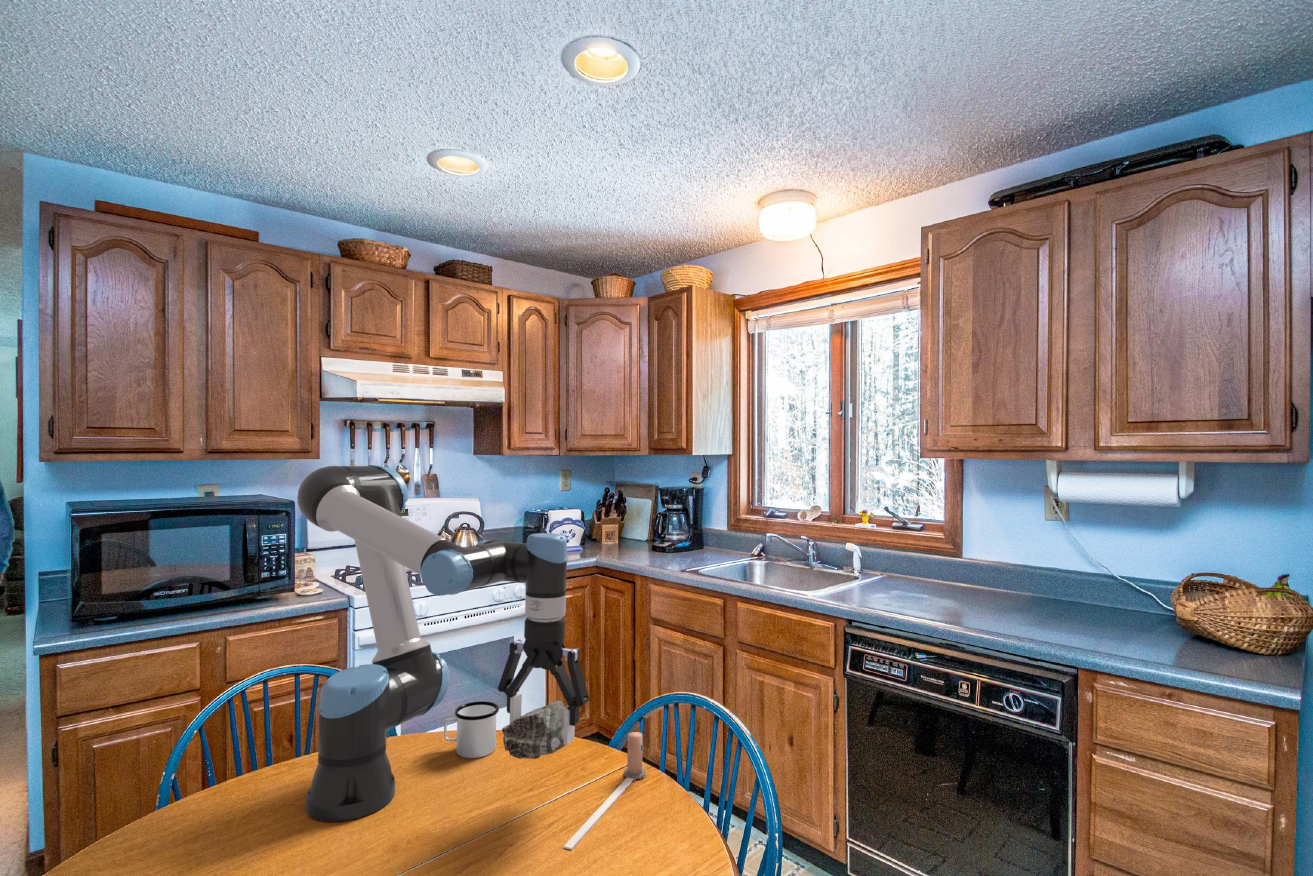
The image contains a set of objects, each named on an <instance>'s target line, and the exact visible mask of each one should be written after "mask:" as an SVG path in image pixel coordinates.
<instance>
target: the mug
mask: <svg viewBox="0 0 1313 876" xmlns="http://www.w3.org/2000/svg"><path fill="white" fill-rule="evenodd" d="M499 711H500V707H499V705H498V704H497V703H495V702H492V701H485V700H483V701H472V702H466V703H464V704H461V705H459V706H458V707H457V708H456V709H455V710H454V716H455V717H450V718H447V719H445V720H444V726H443V732H444V733H443V734H444V735H443V736H444V739H445V740H446V741H449V742H456V754H457V755H459V756H460V757H462V758H465V759H481V758H484V757H487V756H489V755H491V754H492V753H493V752H495V750H496V749H497V748H496V747H497V714H498V712H499ZM448 722H456V737H448V731H447V727H448Z"/></svg>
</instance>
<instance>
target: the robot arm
mask: <svg viewBox="0 0 1313 876" xmlns="http://www.w3.org/2000/svg"><path fill="white" fill-rule="evenodd" d="M296 497H297V506H298V508H299V511H300V512H301V514H302V515H303V516H304V517H305V519H306V520H307V521H309V522H310V523H312V524H313V525H315V526H317V527H318V528H320V529H321V530H323V531H326V532H339V533H341V534H343V535H345V536H347V537H349V538H351V539H353V540H354V545H355V549H356V554H357V558H358V563H359V569H360V572H361V576H362V581H363V587H364V592H365V596H366V601H367V606H368V610H369V615H370V620H371V624H372V629H373V634H374V638H375V643H376V649H377V650H376V653H375V655H374V657H373V658H372V659H371V663H369V664H362V665H359V666H351V667H348V668H346V669H342V670H340V671H337V672H336V673H335V674H332V675H331V676H329V678H327V679H326V680H325V682H324V683H323V684H322V685H321V688H320V695H319V696H320V697H319V702H318V706H317V707H318V708H317V710H318V745H317V746H318V747H317V753H318V754H317V765H316V768H315V771H314V774H313V778H312V780H311V785H310V788H309V789H308V791H307V793H306V796H305V812H306V815H308V817H310V818H312V819H313V820H317V821H320V822H329V823H331V822H344V821H350V820H351V821H352V820H354V819H359V818H362V817H366V816H368V815H371V814H373V813H375V812H378V811H380V810H382V808H384V807H386V806H387V805H388V804H389V803H390V802H392V800H393V799H394V798H395V794H396V779H395V778H396V777H395V776H394V774H393V771H392V767H391V764H390V761H389V758H388V755H387V733H388V731H389V730H391V729H393V728H396V727H398V726H400V725H401V724H404V723H406V722H408V721H410V720H412V719H414V718H416V717H420V716H424V715H425V714H426V713H428V712H430V711H431V710H433V709H434V708H436V707H437V706H439V705H440V704H441V703H442V701H443V700H444V698H445V697H446V695H447V692H448V690H449V684H450V671H449V667H448V664H447V662H446V660H445V659H444V658H441V656H442V655H440V654H439V653H438V652H436V651H435V652H434V651H432V648H431V647H432V646H431V643H430V642H428V641H427V640H426V639H423V638H422V636H421V632H420V629H419V623H418V619H417V615H416V610H415V606H414V601H413V597H412V592H411V589H410V583H409V580H408V578H409V577H408V575H407V571H406V568H407V569H409V570H411V571H412V572H414V573H416V574H418V575H420V578H421V582H422V584H423V585H424V586H425V588H426V590H427V591H428V592H429V593H430V594H432V595H434V596H440V597H441V596H442V597H443V596H447V595H449V596H453V595H457V594H461V593H463V592H467V591H470V590H473V589H477V588H481V587H485V586H488V585H492V584H496V583H501V582H511V583H512V582H513V583H519V584H525V603H524V606H525V607H524V615H525V616H526V618H525V619H524V630H523V637H524V641H522V640H521V639H517V640H515V641H511V642H510V643H509V647H508V649H509V650H508V652H509V654H508V657H507V661H506V663H505V666H504V669H503V671H502V675H501V678H500V681H499V683H498V686H497V689H498V690H497V691H498V692H500V693H504V694H505V695H506V712H507V714H509V724H510V723H512V722H513V721H514V720H515V719H517V718H519V717H520V716H522V703H523V702H522V700H523V699H522V698H523V694H522V693H518V692H520V689H521V687H522V686H523V684H524V683H525V681H526V680H527V678H528V676H530V674H531V672H532V670H533V669H543V670H545V671H546V670H547V671H549V672H550V674H551V675H552V676H553V677H554V680H555V681H556V684H557V685H558V687H559V690H560V692H561V694H562V695H563V698H564V700H565V702H566V704H567V706H565V707H566V708H564V743H563V745H566V746H568V745H570V744H571V743H572V742H574V740H575V733H576V732H575V731H576V730H575V728H576V727H575V726H576V725H578V723H579V721H580V707H581V708H582V707H583V706H585V705H586V704H587V703H589V701H590V695H589V692H588V688H587V685H586V682H585V678H584V673H583V670H582V666H581V663H580V662H581V661H580V656H581V655H580V652H581V651H580V649H579V648H577V647H575V648H566V646H565V642H564V641H565V637H566V619H565V617H564V616H565V615H566V612H567V610H566V609H567V606H566V605H567V588H566V587H567V571H568V570H567V567H568V560H569V559H568V558H569V556H568V542H567V538H566V537H565V536H564V535H562V534H559V533H554V532H553V533H550V532H549V533H546V532H545V533H544V532H539V533H532V534H529V535H528V537H527V539H526V542H516V541H509V540H508V541H507V540H506V541H505V540H500V539H482V540H480V541H478V542H477V544H475V545H471V546H461V545H458V544H457V543H454V542H452V541H450V540H448V539H446V538H444V537H442V536H440V535H438V534H436V533H434V532H433V531H430V530H428V529H426V528H424V527H422V526H420V525H418V524H416V523H414V522H412V521H411V520H408V519H406V518H404V517H402V513H403V511H405V509H406V507H407V504H406V503H407V502H408V500H409V492H408V487H407V484H406V482H405V479H404V478H403V477H402V476H401V474H400V473H398V471H396V470H394V469H392V467H391V468H390V467H387V466H379V465H374V464H370V465H341V466H340V465H328V466H324V467H320V468H317V469H316V470H314V471H312V472H311V473H309V474H308V475H307V476H306V477H305V478H304V479H303V480H302V482H301V483H300V486H299V488H298V490H297V496H296ZM522 653H524V654H525V656H526V659H525V660H524V661H523V663H522V665H521V668H520V669H519V671H518V673H517V674H516V672H517V668H518V665H519V663H520V659H521V658H522V657H521V656H522ZM563 657H564V660H563ZM564 661H565V662H567V663H566V664H565V662H564ZM566 665H567V669H568V672H569V673H568V672H567V670H566ZM515 674H516V675H515Z"/></svg>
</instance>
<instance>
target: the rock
mask: <svg viewBox="0 0 1313 876" xmlns="http://www.w3.org/2000/svg"><path fill="white" fill-rule="evenodd" d="M566 707H567V706H565V705H564V703H563V701H561V700H555V701H553V702H552V703H549V704H547V705H545V706H542V707H538V708H535V709H533V710H532V711H531V710H530V711H529V712H526V713H525V714H523V715H521V716H520V717H519V718H517V719H515V720H514V721H513V722H512V723H510V722H509V724H507V725H505V726H503V727H502V728H501V732H502V733H503V738H502V739H503V746H504V750H505V751H507V752H509V756H512V757H513V758H516V759H518V760H519V759H520V760H522V759H529V760H536V759H539V758H540V757H541V756H548V755H551V754H554V753H555V752H557V751H558V750H561V749H562V748H564V747H565V746H567V745H563V743H564V708H566Z"/></svg>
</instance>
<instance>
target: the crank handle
mask: <svg viewBox="0 0 1313 876" xmlns="http://www.w3.org/2000/svg"><path fill="white" fill-rule="evenodd" d="M641 745H642V746H643V733H642V732H639V731H631V732H629V733H628V734H627V768H626V769H625V770H624V771H623V776H625V777H626V778H625V777H624V778H625V779H624V780H623V781H622V782H621V783H620V785H619V786H618V787H617V788H616V789H615V790H614V791H613V792H612V793H611V794H610V795H609V797H608V798H607V799H606V800H605V801H604V802H603V803H602V804H601V805H600V806H599V807H598V808H597V809H596V810H595V811H594V813H593V814H592V815H591V816H590V817H589V818H588V819H587V820H586V821H585V823H584V824H583V825H582V826H581V827H580V828H579V829H578V830H577V831H576V832H575V833H574V835H572V836H571V838H569V840H567V842H566V843H565V844H564V845H563V849H566V850H569V851H573V849H574V848H575V847H576V846H577V845H578V844H579V842H581V840H583V838H584V837H585V836H586V835H587V834H588V833H589V831H590V830H591V829H593V827H594V826H596V823H597V822H599V820H600V819H601V818H602V817H603V815H605V813H606V812H607V811H608V810H609V809H610V807H612V805H614V803H615V802H616V801H617V800H618V799H619V797H621V795H622V794H623V793H625V791H626V790H627V789H628V788H627V787H629V786H631V784H632V783H633V782H634V781H635V780H634V779H640V778H643V777H644V776H645V775H647V774H646V773H647V772H646V769H644V768H643V750H642V751H641ZM645 777H646V776H645ZM645 777H644V778H645ZM644 778H643V779H644ZM633 780H634V781H633ZM640 780H641V779H640ZM632 781H633V782H632ZM631 782H632V783H631ZM626 788H627V789H626ZM625 789H626V790H625Z"/></svg>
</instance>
